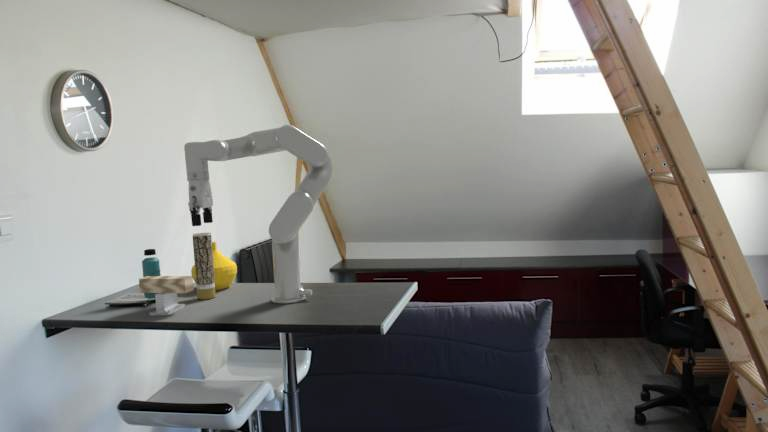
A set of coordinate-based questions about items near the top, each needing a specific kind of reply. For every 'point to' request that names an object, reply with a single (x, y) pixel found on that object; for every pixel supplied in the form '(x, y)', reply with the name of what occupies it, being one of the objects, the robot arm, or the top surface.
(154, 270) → the beverage bottle
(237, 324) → the top surface
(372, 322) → the top surface
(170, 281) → the beam
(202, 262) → the brown bark cylinder
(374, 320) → the top surface
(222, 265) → the vase
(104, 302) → the top surface
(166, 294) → the fulcrum
